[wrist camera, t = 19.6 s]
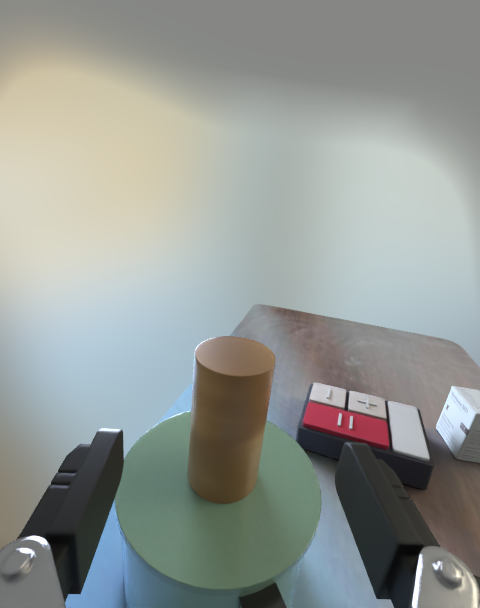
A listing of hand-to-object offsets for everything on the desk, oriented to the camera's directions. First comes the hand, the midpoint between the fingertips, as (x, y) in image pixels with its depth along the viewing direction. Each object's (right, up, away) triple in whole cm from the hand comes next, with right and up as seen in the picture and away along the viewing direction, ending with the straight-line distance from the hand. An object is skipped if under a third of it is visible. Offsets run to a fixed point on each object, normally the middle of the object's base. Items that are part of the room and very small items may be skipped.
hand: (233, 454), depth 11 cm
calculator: (+16, -13, +31) cm, 37 cm away
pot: (-2, -16, +15) cm, 22 cm away
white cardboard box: (+31, -14, +32) cm, 47 cm away
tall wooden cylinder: (-1, -7, +12) cm, 14 cm away
